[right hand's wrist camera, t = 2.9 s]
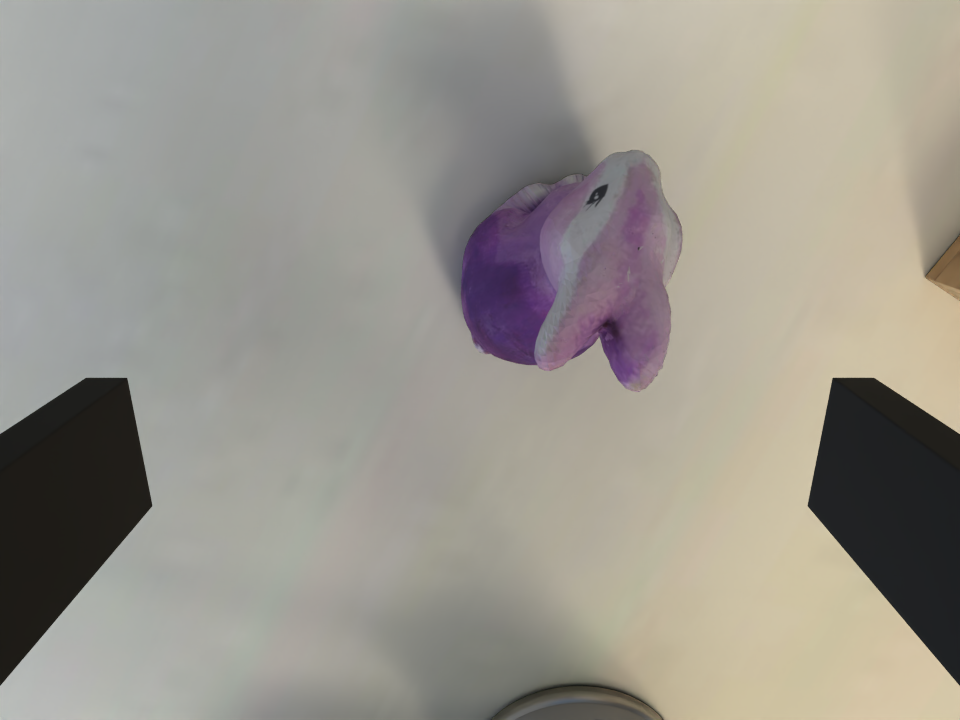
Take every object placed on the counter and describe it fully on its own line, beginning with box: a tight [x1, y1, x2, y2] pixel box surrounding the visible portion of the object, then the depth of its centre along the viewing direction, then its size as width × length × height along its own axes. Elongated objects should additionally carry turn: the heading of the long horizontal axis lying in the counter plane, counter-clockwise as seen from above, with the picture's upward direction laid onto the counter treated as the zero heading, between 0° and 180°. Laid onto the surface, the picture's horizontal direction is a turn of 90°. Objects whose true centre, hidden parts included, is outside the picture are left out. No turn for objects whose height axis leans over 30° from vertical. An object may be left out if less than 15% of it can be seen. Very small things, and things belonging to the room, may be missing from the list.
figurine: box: [461, 150, 682, 392], centre depth 29 cm, size 9×10×15 cm
